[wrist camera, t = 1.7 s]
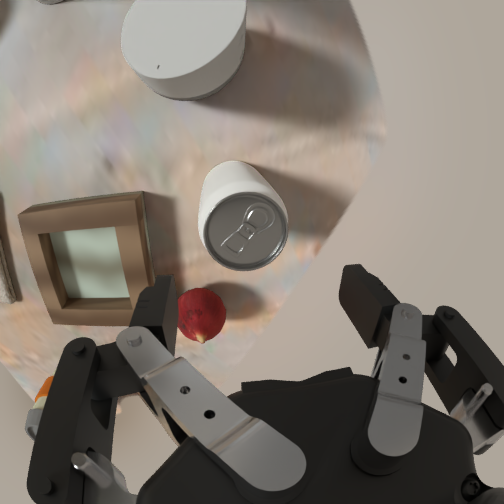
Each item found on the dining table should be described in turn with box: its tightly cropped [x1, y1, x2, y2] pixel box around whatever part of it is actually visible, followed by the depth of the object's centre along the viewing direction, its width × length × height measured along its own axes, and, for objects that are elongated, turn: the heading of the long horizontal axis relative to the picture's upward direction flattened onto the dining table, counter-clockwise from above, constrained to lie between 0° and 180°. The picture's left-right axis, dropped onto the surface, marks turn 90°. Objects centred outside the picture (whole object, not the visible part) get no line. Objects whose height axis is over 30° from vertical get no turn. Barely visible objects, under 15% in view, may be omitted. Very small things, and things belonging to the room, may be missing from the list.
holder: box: [18, 191, 155, 326], centre depth 29 cm, size 15×15×4 cm
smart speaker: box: [121, 0, 247, 101], centre depth 16 cm, size 10×9×14 cm
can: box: [198, 161, 288, 271], centre depth 24 cm, size 6×6×12 cm
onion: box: [177, 288, 226, 344], centre depth 31 cm, size 6×6×8 cm
